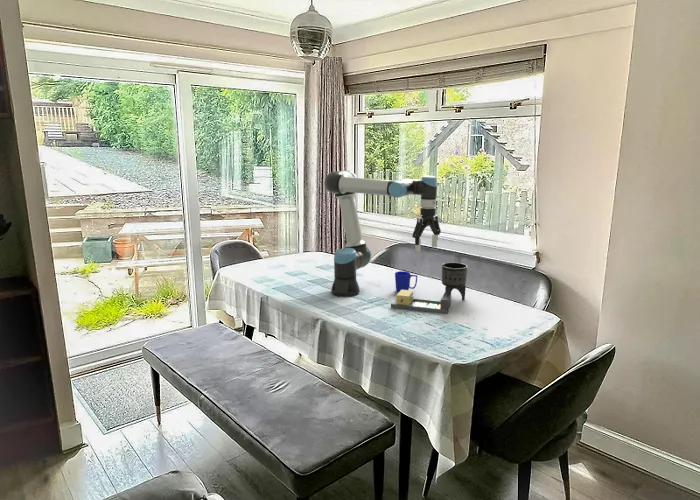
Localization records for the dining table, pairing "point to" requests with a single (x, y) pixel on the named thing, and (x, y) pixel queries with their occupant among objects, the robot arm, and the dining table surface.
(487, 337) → the dining table surface
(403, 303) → the block
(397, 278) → the mug
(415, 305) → the tray
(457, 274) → the planter
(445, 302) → the dark grey block
